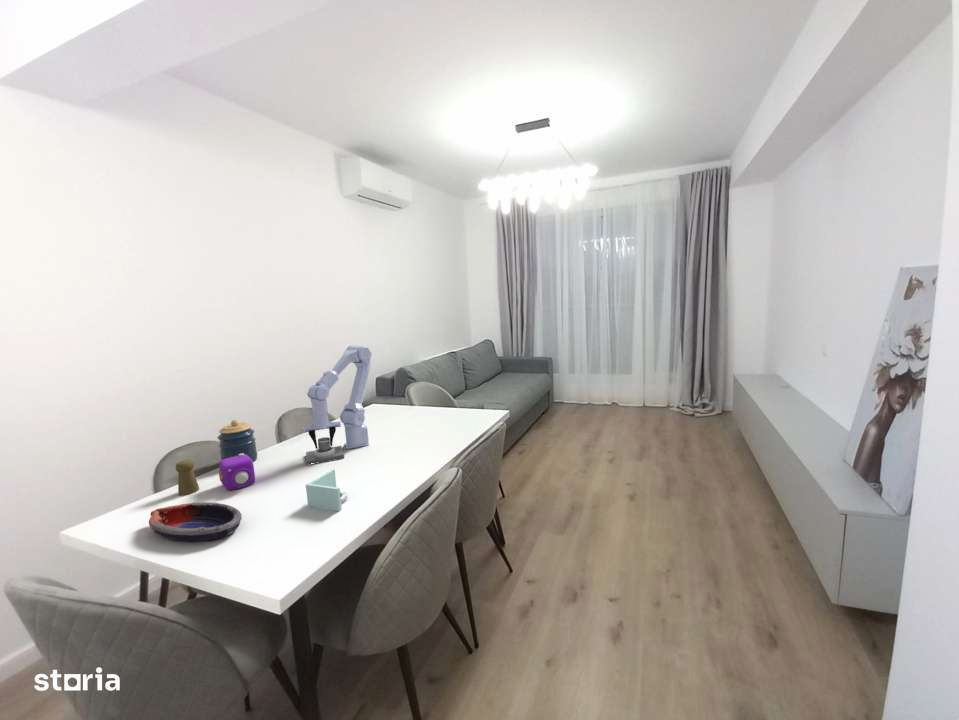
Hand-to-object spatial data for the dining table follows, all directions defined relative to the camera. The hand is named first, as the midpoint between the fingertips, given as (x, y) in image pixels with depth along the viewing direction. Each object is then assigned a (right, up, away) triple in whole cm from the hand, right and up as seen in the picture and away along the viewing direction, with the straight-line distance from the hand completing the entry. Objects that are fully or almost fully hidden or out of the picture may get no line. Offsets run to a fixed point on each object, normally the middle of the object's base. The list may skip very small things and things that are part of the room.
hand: (323, 446), depth 169 cm
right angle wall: (+18, -10, -38) cm, 43 cm away
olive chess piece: (-37, -10, -26) cm, 46 cm away
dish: (-17, -13, -51) cm, 56 cm away
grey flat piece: (0, -4, +1) cm, 4 cm away
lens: (0, -3, 0) cm, 3 cm away
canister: (-34, -7, 0) cm, 35 cm away
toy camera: (-21, -9, -24) cm, 33 cm away
